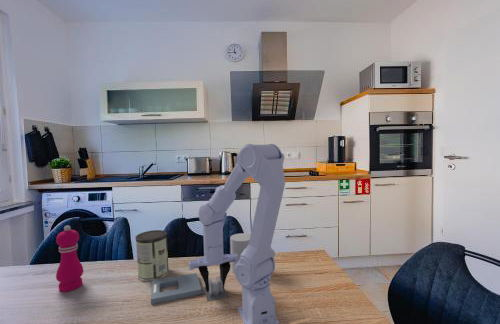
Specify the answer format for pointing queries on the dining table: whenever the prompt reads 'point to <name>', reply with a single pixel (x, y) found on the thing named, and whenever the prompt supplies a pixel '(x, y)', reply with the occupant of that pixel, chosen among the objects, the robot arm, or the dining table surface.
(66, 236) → the pepper mill
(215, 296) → the pad
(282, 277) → the dining table surface
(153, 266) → the coffee can
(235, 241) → the cup
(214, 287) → the clip
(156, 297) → the board
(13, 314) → the dining table surface
